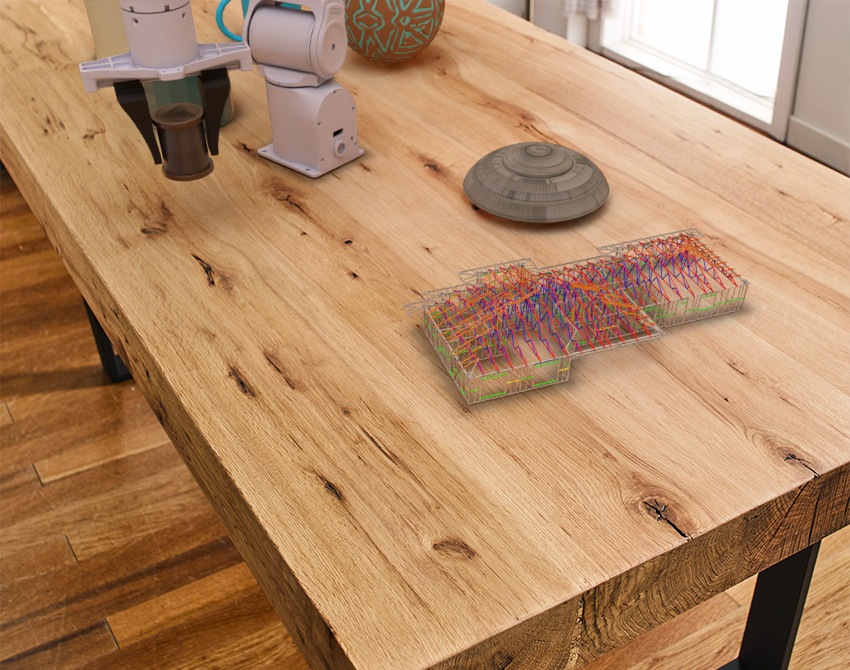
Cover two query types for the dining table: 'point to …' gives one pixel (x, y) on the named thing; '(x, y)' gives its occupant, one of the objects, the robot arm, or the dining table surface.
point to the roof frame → (567, 305)
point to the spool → (182, 141)
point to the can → (107, 27)
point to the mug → (244, 8)
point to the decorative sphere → (392, 27)
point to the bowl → (181, 95)
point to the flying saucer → (536, 183)
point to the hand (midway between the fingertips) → (185, 155)
